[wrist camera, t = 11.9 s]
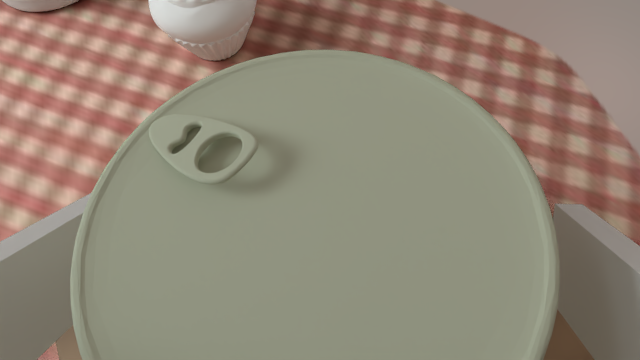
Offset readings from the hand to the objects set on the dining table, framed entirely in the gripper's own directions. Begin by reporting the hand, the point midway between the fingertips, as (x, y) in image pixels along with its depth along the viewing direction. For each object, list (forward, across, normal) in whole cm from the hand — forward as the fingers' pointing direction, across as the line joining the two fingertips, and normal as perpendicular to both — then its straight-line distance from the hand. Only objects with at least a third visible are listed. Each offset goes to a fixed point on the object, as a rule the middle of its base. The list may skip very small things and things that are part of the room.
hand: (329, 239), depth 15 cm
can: (+3, 0, -6) cm, 7 cm away
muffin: (+18, -8, +6) cm, 20 cm away
